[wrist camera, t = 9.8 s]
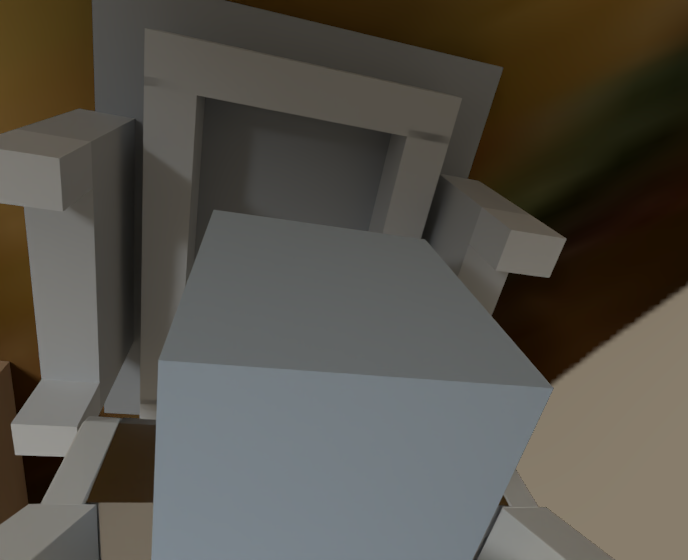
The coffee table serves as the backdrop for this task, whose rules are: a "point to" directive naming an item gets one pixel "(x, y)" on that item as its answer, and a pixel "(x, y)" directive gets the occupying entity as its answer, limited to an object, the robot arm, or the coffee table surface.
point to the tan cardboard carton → (9, 452)
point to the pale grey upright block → (332, 401)
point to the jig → (235, 180)
